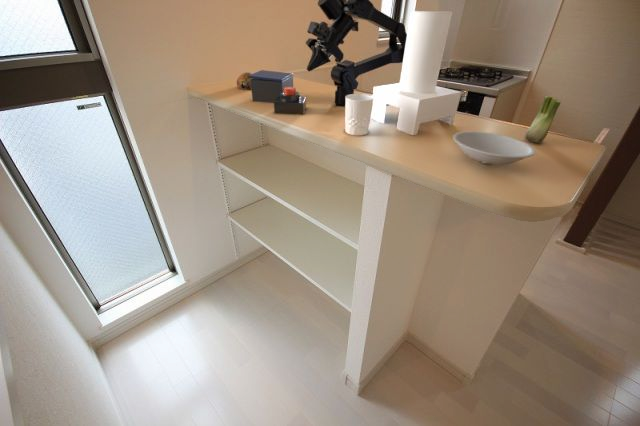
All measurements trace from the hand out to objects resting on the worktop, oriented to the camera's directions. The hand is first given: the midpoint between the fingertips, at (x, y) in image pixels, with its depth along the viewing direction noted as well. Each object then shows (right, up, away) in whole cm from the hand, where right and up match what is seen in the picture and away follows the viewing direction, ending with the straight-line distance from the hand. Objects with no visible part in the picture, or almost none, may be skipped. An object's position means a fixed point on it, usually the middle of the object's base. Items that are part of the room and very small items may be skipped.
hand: (307, 70), depth 101 cm
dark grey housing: (-15, -3, +19) cm, 24 cm away
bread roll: (-29, +8, +34) cm, 45 cm away
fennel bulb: (+65, -28, -16) cm, 73 cm away
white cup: (+15, -24, -12) cm, 31 cm away
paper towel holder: (+34, -19, -3) cm, 39 cm away
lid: (-15, +4, +14) cm, 21 cm away
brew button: (-6, -7, +2) cm, 10 cm away
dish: (+45, -36, -28) cm, 64 cm away
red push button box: (-6, -12, +5) cm, 15 cm away
